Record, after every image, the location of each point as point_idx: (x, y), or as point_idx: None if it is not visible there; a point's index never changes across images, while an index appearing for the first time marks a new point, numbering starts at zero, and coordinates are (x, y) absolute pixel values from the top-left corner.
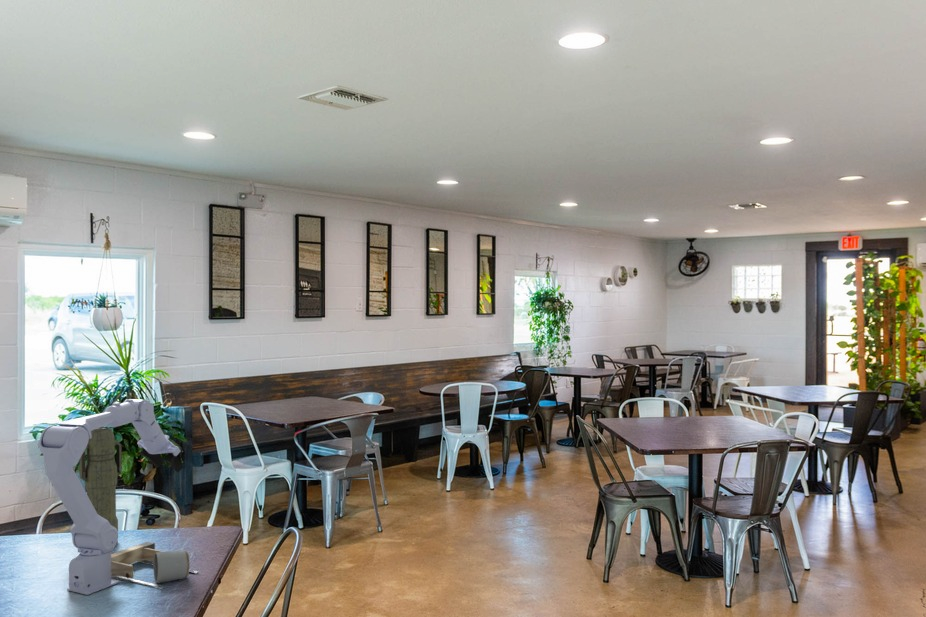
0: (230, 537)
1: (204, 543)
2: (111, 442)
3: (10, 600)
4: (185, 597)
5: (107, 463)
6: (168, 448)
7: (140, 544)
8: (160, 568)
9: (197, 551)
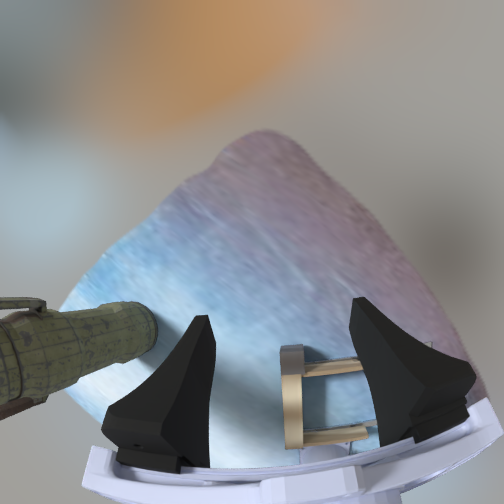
0: (320, 170)
1: (308, 223)
2: None
3: None
4: (467, 401)
5: (29, 372)
6: (437, 475)
7: (283, 371)
8: None
9: (339, 266)
